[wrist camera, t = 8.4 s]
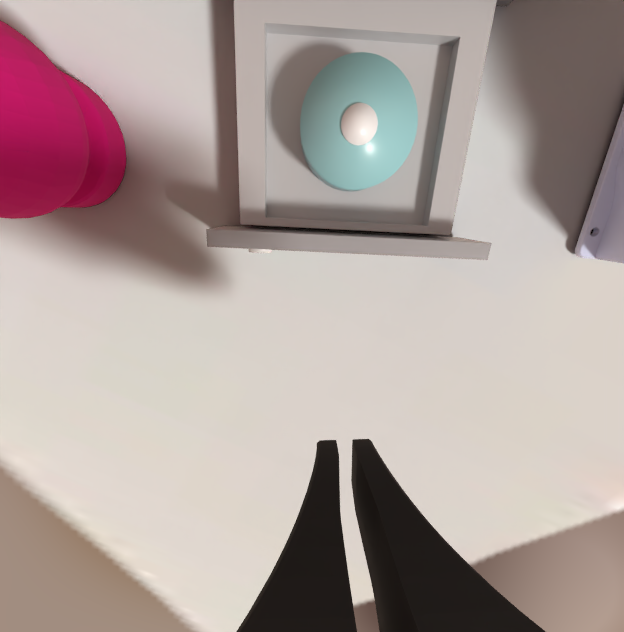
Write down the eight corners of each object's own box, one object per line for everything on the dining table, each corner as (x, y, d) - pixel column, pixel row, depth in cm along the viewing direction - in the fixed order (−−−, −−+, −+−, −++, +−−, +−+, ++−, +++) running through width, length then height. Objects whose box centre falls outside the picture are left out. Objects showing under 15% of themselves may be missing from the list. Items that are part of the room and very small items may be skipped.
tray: (453, 256, 18) (485, 266, 15) (225, 245, 18) (207, 253, 14) (516, -52, 13) (582, -134, 10) (211, -77, 13) (180, -171, 10)
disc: (391, 197, 16) (403, 195, 14) (295, 184, 16) (294, 180, 14) (414, 82, 14) (432, 61, 12) (306, 65, 14) (307, 40, 12)
